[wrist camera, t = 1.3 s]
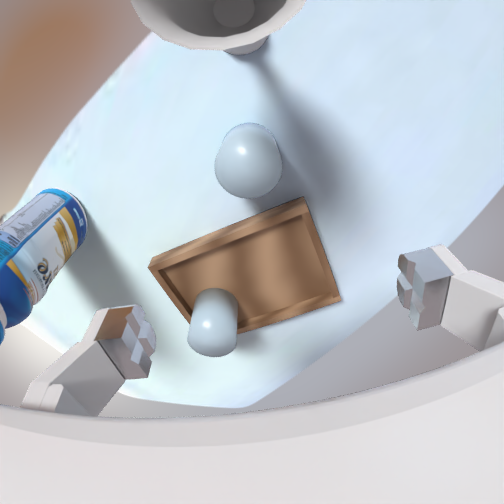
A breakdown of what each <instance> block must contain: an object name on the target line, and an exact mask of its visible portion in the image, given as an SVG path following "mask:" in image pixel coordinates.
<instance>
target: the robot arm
mask: <svg viewBox="0 0 504 504" xmlns="http://www.w3.org/2000/svg"><path fill="white" fill-rule="evenodd" d="M398 267H399V269H400V270H401V273H400V275H399V276H398V278H397V291H398V296H399V299H400V302H401V303H402V305H403V307H405V308H407V309H409V310H410V311H409V318H410V319H411V321H412V323H413V324H414V326H415V328H416V330H417V331H418V330H422V329H425V328H429V327H432V326H436V325H440V324H441V326H442V327H444V328H445V329H447V330H448V331H450V332H451V333H453V334H454V335H456V336H457V337H459V338H460V339H462V340H463V341H465V342H466V343H468V344H469V345H471V346H472V347H474V348H475V349H477V350H478V351H480V352H478V353H476V354H474V355H471V356H468V357H466V358H463V359H461V360H458V361H456V362H453V363H450V364H448V365H445V366H442V367H439V368H436V369H434V370H431V371H428V372H425V373H422V374H419V375H416V376H413V377H410V378H406V379H403V380H400V381H396V382H393V383H390V384H386V385H382V386H379V387H375V388H371V389H367V390H364V391H360V392H355V393H351V394H347V395H343V396H338V397H334V398H329V399H324V400H320V401H315V402H309V403H304V404H298V405H292V406H286V407H280V408H273V409H266V410H258V411H250V412H242V413H232V414H222V415H209V416H193V417H171V418H123V417H98V415H99V413H100V412H101V411H102V410H103V408H104V407H105V406H106V405H107V403H108V402H109V401H110V400H111V398H112V397H113V396H114V394H115V393H116V392H117V391H118V390H119V388H120V387H121V386H122V385H123V383H124V382H125V380H126V379H139V378H148V375H149V371H150V367H151V363H152V362H151V360H150V358H149V357H150V356H151V354H152V353H153V352H154V351H155V347H156V336H155V333H154V330H153V328H152V326H151V324H150V323H148V322H147V321H145V320H144V316H145V313H144V311H143V309H142V307H141V306H140V305H138V304H134V305H126V306H118V307H112V308H103V309H99V310H97V311H96V313H95V315H94V317H93V319H92V321H91V323H90V325H89V327H88V329H87V331H86V333H85V335H84V337H83V339H82V341H81V342H77V343H76V344H75V345H74V346H73V347H71V348H70V349H69V350H68V351H67V352H66V353H64V354H63V355H62V356H61V357H60V358H59V359H57V360H56V361H55V362H54V363H53V364H52V365H50V366H49V367H48V368H47V369H46V370H45V371H44V372H42V373H41V374H40V375H39V376H38V377H37V378H35V379H34V380H33V381H32V382H31V384H30V386H29V389H28V391H27V393H26V395H25V397H24V399H23V402H22V404H21V406H20V408H18V407H13V406H7V405H2V404H0V504H504V283H503V282H501V281H499V280H496V279H494V278H491V277H489V276H486V275H484V274H481V273H478V272H476V271H473V270H471V271H468V270H467V269H466V268H465V267H464V266H463V265H462V264H461V263H460V261H459V260H458V259H457V258H456V257H455V256H454V255H453V254H452V253H451V252H450V251H449V250H448V249H447V248H446V247H445V246H444V245H442V244H439V245H436V246H432V247H428V248H426V249H422V250H418V251H414V252H409V253H405V254H401V255H400V256H399V259H398Z"/></svg>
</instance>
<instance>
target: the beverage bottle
mask: <svg viewBox="0 0 504 504" xmlns="http://www.w3.org/2000/svg"><path fill="white" fill-rule="evenodd" d="M86 234H87V218H86V215H85V212H84V209H83V207H82V206H81V204H80V203H79V201H78V200H77V199H76V198H75V197H74V196H73V195H72V194H70V193H69V192H67V191H65V190H63V189H60V188H48V189H45V190H43V191H42V192H40V193H39V194H38V195H36V196H35V197H34V198H33V199H32V200H31V201H30V202H29V203H27V204H26V205H25V206H24V207H22V208H21V209H20V210H19V211H17V212H16V213H15V214H14V215H12V216H11V217H10V218H9V219H8V220H6V221H5V222H4V223H3V224H1V225H0V344H1V343H2V341H3V339H4V335H5V329H6V328H10V327H12V326H15V325H17V324H19V323H21V322H22V321H23V320H25V319H26V318H27V317H28V316H29V315H30V313H31V311H32V308H33V305H35V304H37V303H38V302H39V301H40V300H41V299H42V298H43V296H44V295H45V294H46V292H47V289H48V286H49V285H50V283H51V282H52V280H53V279H54V278H55V276H56V275H57V273H58V272H59V271H60V269H61V268H62V267H63V265H64V264H65V263H66V262H67V260H68V259H69V258H70V256H71V255H72V254H73V253H74V251H75V250H77V249H78V248H79V246H80V245H81V244H82V243H83V241H84V239H85V237H86Z"/></svg>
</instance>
